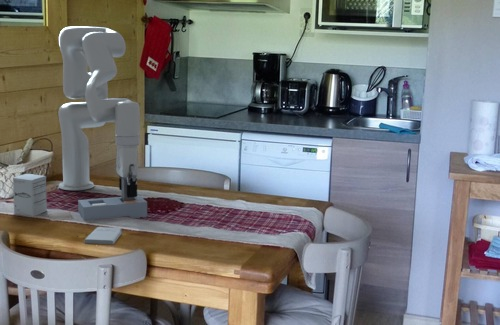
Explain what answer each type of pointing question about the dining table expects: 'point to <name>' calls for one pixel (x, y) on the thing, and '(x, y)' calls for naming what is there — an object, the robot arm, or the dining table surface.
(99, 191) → the dining table surface
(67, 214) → the grey flat plate
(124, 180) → the plug
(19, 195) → the supplement box
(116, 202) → the socket block
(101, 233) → the external hard drive
